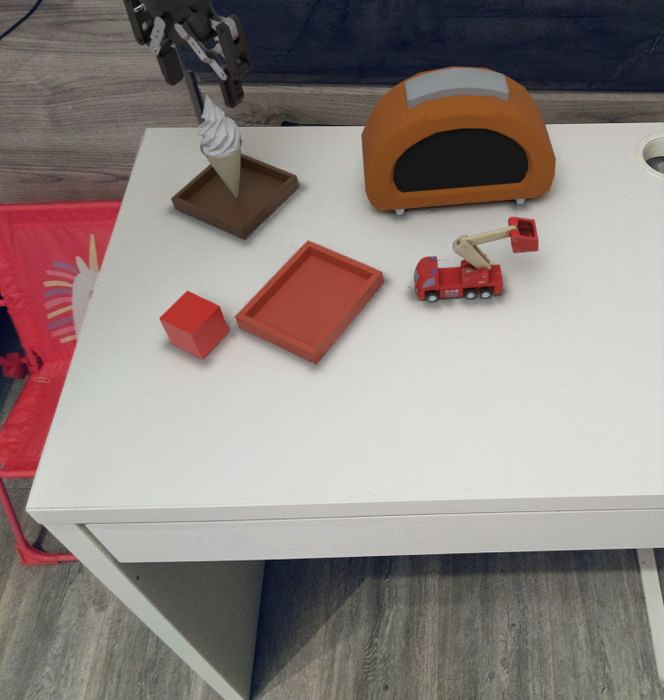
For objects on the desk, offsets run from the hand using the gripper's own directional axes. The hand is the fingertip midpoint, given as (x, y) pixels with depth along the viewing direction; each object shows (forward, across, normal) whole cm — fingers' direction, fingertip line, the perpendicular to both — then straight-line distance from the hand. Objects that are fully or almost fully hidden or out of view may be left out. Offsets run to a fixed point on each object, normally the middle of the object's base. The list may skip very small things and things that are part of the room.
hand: (205, 92), depth 87 cm
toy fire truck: (+16, +34, +1) cm, 38 cm away
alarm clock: (+16, +24, +15) cm, 32 cm away
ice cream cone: (+15, 0, 0) cm, 15 cm away
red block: (+16, +11, -20) cm, 28 cm away
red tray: (+16, +19, -10) cm, 27 cm away
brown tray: (+16, 0, 0) cm, 16 cm away
